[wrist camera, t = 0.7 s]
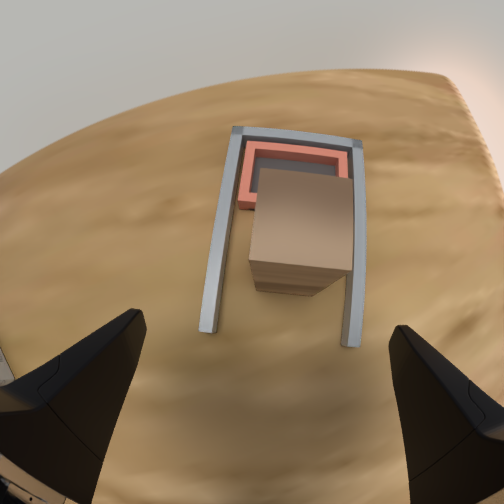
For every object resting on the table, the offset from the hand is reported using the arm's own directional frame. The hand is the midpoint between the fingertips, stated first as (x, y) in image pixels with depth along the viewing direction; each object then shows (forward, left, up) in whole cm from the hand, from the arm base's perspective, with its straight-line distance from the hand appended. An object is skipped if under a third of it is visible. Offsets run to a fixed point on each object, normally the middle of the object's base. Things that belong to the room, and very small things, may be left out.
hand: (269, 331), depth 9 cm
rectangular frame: (+7, -11, -13) cm, 18 cm away
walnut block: (+2, -5, -13) cm, 14 cm away
